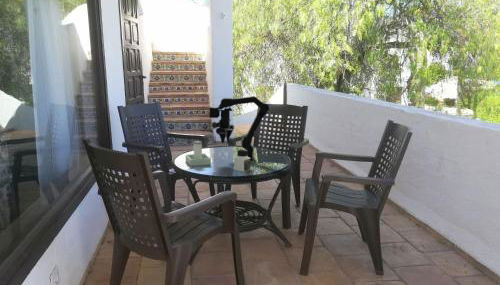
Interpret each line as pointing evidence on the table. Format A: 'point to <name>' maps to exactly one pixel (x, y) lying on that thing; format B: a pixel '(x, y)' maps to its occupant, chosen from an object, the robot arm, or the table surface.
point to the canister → (197, 150)
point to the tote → (198, 160)
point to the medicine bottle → (242, 161)
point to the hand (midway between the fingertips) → (225, 141)
